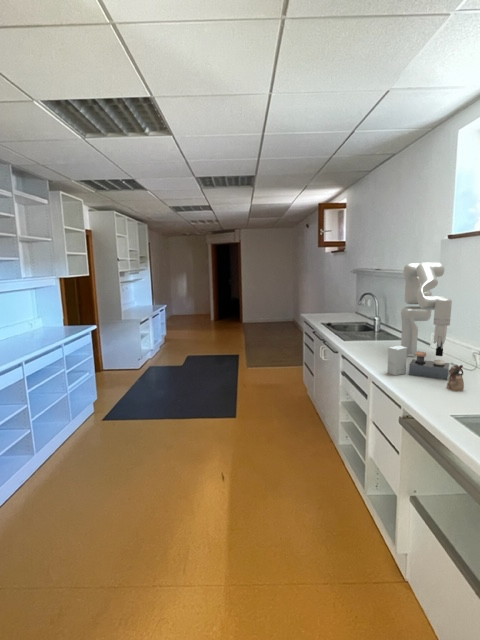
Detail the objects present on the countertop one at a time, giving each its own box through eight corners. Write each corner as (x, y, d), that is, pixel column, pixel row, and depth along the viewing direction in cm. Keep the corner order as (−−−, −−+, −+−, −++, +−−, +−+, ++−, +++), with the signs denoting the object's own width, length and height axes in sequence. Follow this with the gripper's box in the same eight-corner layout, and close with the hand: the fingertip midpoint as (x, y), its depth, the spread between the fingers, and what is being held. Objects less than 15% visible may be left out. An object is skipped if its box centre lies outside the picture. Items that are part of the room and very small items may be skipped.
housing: (412, 369, 205) (412, 358, 204) (448, 373, 195) (449, 363, 194) (408, 374, 195) (409, 364, 194) (447, 380, 185) (447, 368, 184)
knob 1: (415, 364, 200) (416, 351, 199) (425, 365, 197) (426, 352, 196) (414, 366, 196) (415, 353, 195) (424, 367, 193) (425, 354, 192)
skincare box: (397, 370, 202) (398, 345, 200) (406, 373, 197) (407, 347, 195) (386, 373, 199) (387, 346, 196) (395, 376, 193) (396, 349, 191)
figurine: (446, 385, 178) (448, 361, 176) (463, 387, 174) (465, 363, 172) (446, 389, 172) (447, 365, 170) (463, 392, 168) (465, 367, 166)
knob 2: (433, 372, 196) (434, 359, 194) (444, 374, 193) (445, 360, 192) (432, 375, 192) (433, 361, 190) (443, 376, 189) (444, 362, 188)
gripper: (435, 318, 196) (432, 351, 199) (432, 323, 184) (429, 358, 187) (451, 319, 192) (448, 353, 195) (449, 324, 180) (446, 360, 183)
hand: (439, 355), depth 191 cm, fingers closed
